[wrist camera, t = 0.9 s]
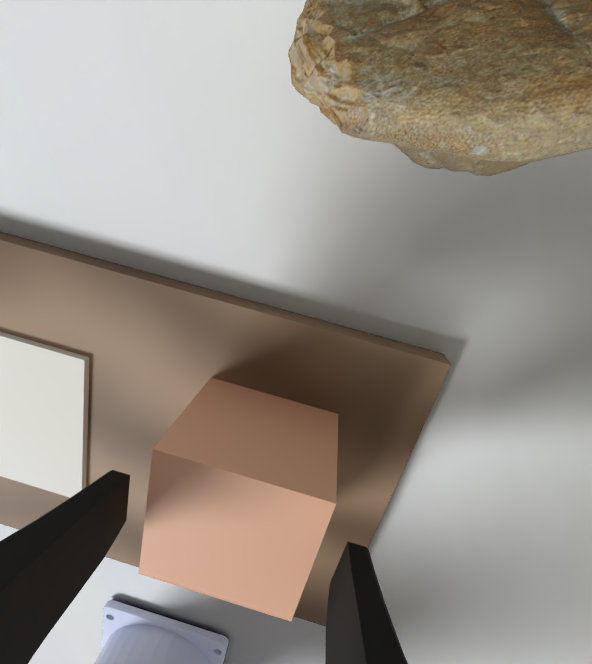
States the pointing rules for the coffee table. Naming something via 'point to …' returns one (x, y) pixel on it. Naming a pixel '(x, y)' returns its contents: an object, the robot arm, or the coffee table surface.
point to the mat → (43, 415)
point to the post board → (194, 372)
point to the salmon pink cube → (241, 497)
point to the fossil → (452, 77)
